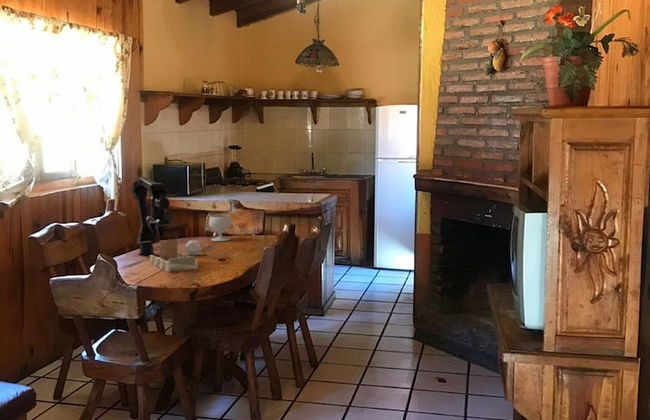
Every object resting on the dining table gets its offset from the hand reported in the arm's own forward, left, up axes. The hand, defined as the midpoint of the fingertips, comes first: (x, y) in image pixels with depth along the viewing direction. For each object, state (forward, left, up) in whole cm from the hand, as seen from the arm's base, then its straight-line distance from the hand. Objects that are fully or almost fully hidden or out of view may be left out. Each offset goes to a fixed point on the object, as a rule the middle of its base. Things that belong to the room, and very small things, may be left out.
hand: (158, 237), depth 350 cm
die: (+10, +18, -12) cm, 24 cm away
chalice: (-1, +65, -12) cm, 66 cm away
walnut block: (+12, -8, -9) cm, 17 cm away
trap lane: (+16, -10, -12) cm, 22 cm away
